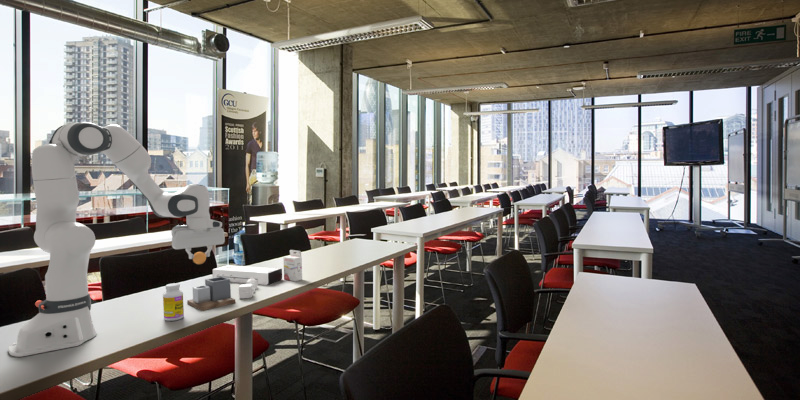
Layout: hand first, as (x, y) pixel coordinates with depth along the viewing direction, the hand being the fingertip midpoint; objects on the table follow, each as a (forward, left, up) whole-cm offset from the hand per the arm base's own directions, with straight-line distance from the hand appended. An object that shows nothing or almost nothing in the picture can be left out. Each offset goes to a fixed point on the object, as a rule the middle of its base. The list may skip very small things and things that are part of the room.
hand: (199, 257), depth 183 cm
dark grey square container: (+7, 0, -18) cm, 20 cm away
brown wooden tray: (+4, 0, -20) cm, 20 cm away
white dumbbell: (+23, +4, -20) cm, 31 cm away
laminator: (+35, +27, -20) cm, 49 cm away
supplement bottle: (-14, -9, -20) cm, 26 cm away
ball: (0, 0, 0) cm, 0 cm away
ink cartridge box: (+50, +10, -20) cm, 55 cm away
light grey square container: (0, 0, -18) cm, 18 cm away
